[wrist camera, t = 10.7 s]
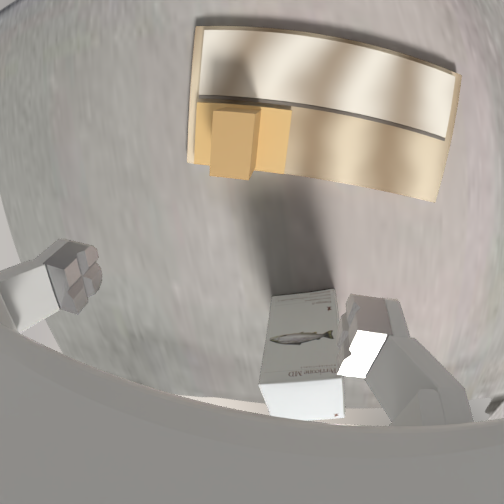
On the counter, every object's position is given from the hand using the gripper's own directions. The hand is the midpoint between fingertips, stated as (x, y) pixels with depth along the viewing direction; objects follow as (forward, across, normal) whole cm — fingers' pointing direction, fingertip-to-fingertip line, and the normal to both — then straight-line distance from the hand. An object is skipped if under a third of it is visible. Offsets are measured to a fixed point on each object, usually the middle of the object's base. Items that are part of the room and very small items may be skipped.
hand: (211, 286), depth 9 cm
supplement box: (+21, -6, +19) cm, 29 cm away
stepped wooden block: (+19, +3, -1) cm, 20 cm away
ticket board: (+21, -4, -4) cm, 22 cm away
